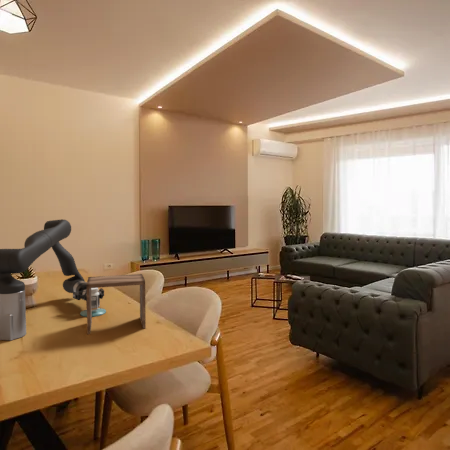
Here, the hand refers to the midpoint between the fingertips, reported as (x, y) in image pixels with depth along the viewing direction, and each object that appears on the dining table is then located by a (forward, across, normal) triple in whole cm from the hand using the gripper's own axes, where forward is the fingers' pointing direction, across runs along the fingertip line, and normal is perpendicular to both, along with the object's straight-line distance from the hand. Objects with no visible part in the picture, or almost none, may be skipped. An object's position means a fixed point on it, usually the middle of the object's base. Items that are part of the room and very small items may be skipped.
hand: (94, 297), depth 159 cm
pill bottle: (-2, 0, +6) cm, 7 cm away
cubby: (+20, +2, +8) cm, 21 cm away
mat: (-2, 0, +8) cm, 8 cm away
